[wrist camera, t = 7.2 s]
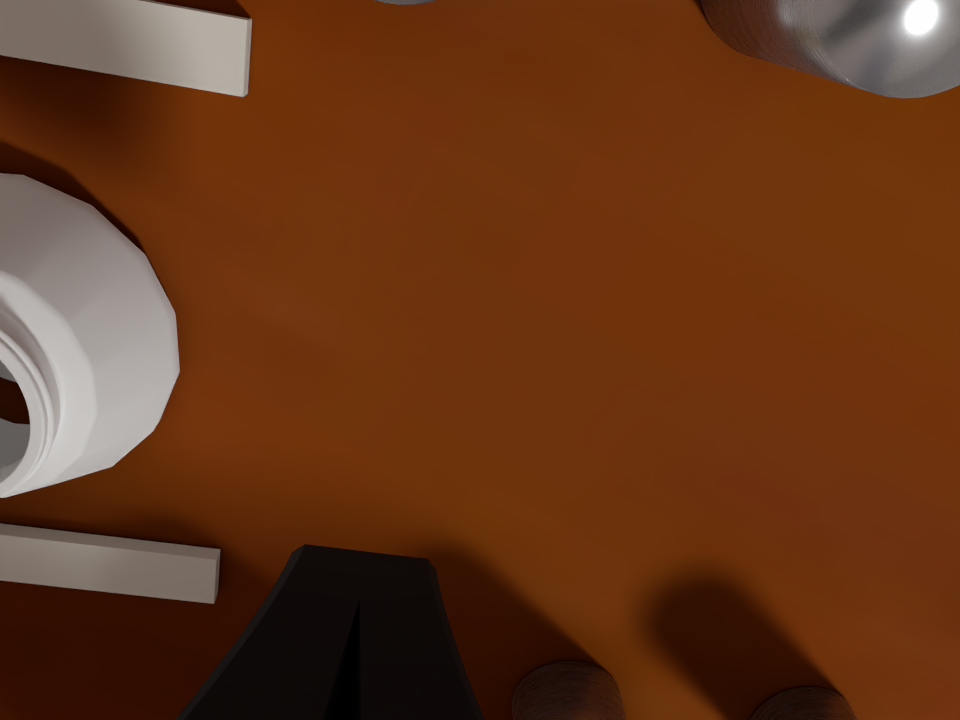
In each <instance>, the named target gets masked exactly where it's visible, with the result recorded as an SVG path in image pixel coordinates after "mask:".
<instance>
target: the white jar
mask: <svg viewBox="0 0 960 720" xmlns="http://www.w3.org/2000/svg"><path fill="white" fill-rule="evenodd" d="M179 372H180V369H179V355H178V341H177V327H176V314H175V312H174V310H173V308H172V306H171V304H170V302H169V300H168V298H167V296H166V294H165V292H164V290H163V288H162V286H161V284H160V282H159V280H158V278H157V277H156V275H155V273H154V271H153V269H152V267H151V265H150V263H149V261H148V259H147V257H146V255H145V254H144V253H143V252H142V251H141V250H140V249H138V248H137V247H136V246H135V245H134V244H133V243H132V242H131V241H130V240H129V239H128V238H127V237H126V236H124V235H123V234H122V233H121V232H120V231H119V230H118V229H117V228H116V227H115V226H114V225H113V224H112V223H110V222H109V221H108V220H107V219H106V218H105V217H104V216H103V215H102V214H101V213H100V212H99V211H98V210H96V209H95V208H94V207H93V206H92V205H90V204H88V203H85V202H83V201H81V200H79V199H76V198H74V197H72V196H70V195H67V194H65V193H63V192H61V191H59V190H56V189H54V188H52V187H50V186H47V185H45V184H43V183H41V182H38V181H36V180H34V179H32V178H29V177H27V176H25V175H18V174H4V173H0V377H2V378H4V379H7V380H10V381H13V382H17V383H18V385H19V387H20V389H21V391H22V393H23V396H24V398H25V401H26V404H27V408H28V411H29V418H30V424H14V423H12V422H9V421H6V420H4V419H1V418H0V498H6V497H9V496H13V495H17V494H20V493H24V492H28V491H31V490H35V489H39V488H43V487H46V486H50V485H54V484H57V483H61V482H64V481H67V480H70V479H74V478H77V477H80V476H83V475H87V474H90V473H93V472H96V471H100V470H103V469H106V468H109V467H112V466H113V465H115V464H116V463H117V462H118V461H119V460H120V459H122V458H123V457H124V456H125V455H126V454H127V453H128V452H130V451H131V450H132V449H133V448H134V447H135V446H137V445H138V444H139V443H140V442H141V441H142V440H143V439H145V438H146V437H147V436H148V435H149V434H150V433H152V432H153V430H154V429H155V427H156V426H157V424H158V422H159V421H160V419H161V416H162V414H163V411H164V409H165V406H166V404H167V401H168V399H169V396H170V394H171V392H172V389H173V387H174V384H175V382H176V379H177V377H178V374H179Z"/></svg>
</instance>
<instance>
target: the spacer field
mask: <svg viewBox="0 0 960 720" xmlns="http://www.w3.org/2000/svg"><path fill="white" fill-rule="evenodd" d="M376 1H380V2H384V3H391V4H400V5H403V4H420V3H426V2H431V1H435V0H376ZM701 4H702V8H703V11H704V14H705V16H706V18H707V21H708V23H709V25H710V26H711V28H712V29H713V31H714V32H715V33H716V35H717V36H718V37H719V38H720V39H721V40H722V41H723V42H724V43H725V44H727V45H728V46H729V47H731V48H732V49H734V50H736V51H737V52H740V53H742V54H744V55H747V56H751V57H754V58H757V59H761V60H764V61H768V62H771V63H774V64H778V65H781V66H784V67H788V68H791V69H795V70H798V71H801V72H805V73H808V74H811V75H815V76H818V77H822V78H825V79H828V80H832V81H835V82H838V83H842V84H845V85H849V86H852V87H855V88H859V89H862V90H865V91H869V92H872V93H876V94H879V95H883V96H887V97H895V98H917V97H923V96H930V95H933V94H937V93H940V92H943V91H946V90H949V89H951V88H953V87H956V86H958V85H960V0H701ZM512 715H513V720H626V716H625V712H624V708H623V704H622V699H621V695H620V691H619V688H618V685H617V683H616V682H615V680H614V679H613V678H612V677H611V676H610V675H609V674H608V673H607V672H606V671H604V670H603V669H601V668H599V667H598V666H595V665H593V664H589V663H586V662H580V661H560V662H555V663H551V664H547V665H544V666H542V667H540V668H538V669H536V670H534V671H532V672H531V673H529V674H528V675H527V676H526V677H525V678H524V679H523V680H522V681H521V682H520V683H519V684H518V686H517V688H516V689H515V691H514V694H513V697H512ZM750 720H857V718H856V716H855V714H854V712H853V710H852V709H851V707H850V705H849V703H848V702H847V701H846V700H845V698H843V697H842V696H841V695H840V694H838V693H836V692H834V691H832V690H829V689H825V688H820V687H800V688H794V689H790V690H787V691H784V692H782V693H779V694H777V695H775V696H773V697H772V698H770V699H768V700H767V701H766V702H764V703H763V704H762V705H761V706H760V707H759V708H758V709H757V710H756V711H755V713H754V714H753V715H752V717H751V719H750Z"/></svg>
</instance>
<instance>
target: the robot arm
mask: <svg viewBox="0 0 960 720" xmlns="http://www.w3.org/2000/svg"><path fill="white" fill-rule="evenodd" d="M175 720H484V717H483V715H482V712H481V710H480V707H479V705H478V703H477V700H476V698H475V695H474V693H473V690H472V688H471V685H470V683H469V680H468V677H467V675H466V672H465V669H464V667H463V664H462V661H461V658H460V655H459V652H458V649H457V646H456V643H455V640H454V637H453V634H452V632H451V628H450V625H449V622H448V618H447V615H446V612H445V608H444V604H443V601H442V597H441V592H440V588H439V584H438V579H437V573H436V569H435V568H434V567H433V566H432V565H431V563H430V562H429V561H428V560H427V559H422V558H413V557H405V556H397V555H389V554H380V553H372V552H364V551H356V550H347V549H339V548H331V547H323V546H315V545H306V544H305V545H303V546H302V547H300V548H298V549H297V550H295V551H294V552H292V554H291V556H290V558H289V560H288V562H287V564H286V566H285V568H284V570H283V572H282V573H281V575H280V577H279V578H278V580H277V582H276V583H275V585H274V587H273V588H272V590H271V592H270V593H269V595H268V596H267V598H266V599H265V601H264V602H263V604H262V605H261V607H260V608H259V610H258V611H257V613H256V614H255V616H254V617H253V618H252V620H251V621H250V623H249V624H248V626H247V627H246V628H245V630H244V631H243V633H242V634H241V636H240V637H239V638H238V640H237V641H236V643H235V644H234V645H233V646H232V648H231V649H230V650H229V652H228V653H227V654H226V656H225V657H224V658H223V659H222V661H221V662H220V663H219V665H218V666H217V667H216V669H215V670H214V671H213V672H212V674H211V675H210V676H209V678H208V679H207V680H206V682H205V683H204V684H203V685H202V687H201V688H200V689H199V691H198V692H197V693H196V695H195V696H194V697H193V698H192V700H191V701H190V702H189V703H188V705H187V706H186V707H185V708H184V709H183V711H182V712H181V713H180V714H179V715H178V717H177V718H176V719H175Z"/></svg>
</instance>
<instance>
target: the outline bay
mask: <svg viewBox="0 0 960 720" xmlns="http://www.w3.org/2000/svg"><path fill="white" fill-rule="evenodd" d="M251 28H252V19H250V18H244V17H239V16H233V15H228V14H222V13H217V12H211V11H206V10H200V9H195V8H189V7H184V6H178V5H173V4H167V3H162V2H156V1H151V0H0V55H3V56H9V57H15V58H20V59H26V60H32V61H38V62H44V63H49V64H55V65H61V66H67V67H73V68H78V69H84V70H90V71H96V72H102V73H107V74H113V75H119V76H125V77H131V78H136V79H142V80H148V81H154V82H160V83H166V84H171V85H177V86H183V87H189V88H195V89H200V90H206V91H212V92H218V93H224V94H229V95H235V96H241V97H244V96H245V95H247V94H248V79H249V62H250V45H251ZM220 550H221V549H214V548H205V547H197V546H188V545H180V544H171V543H163V542H154V541H146V540H137V539H128V538H120V537H111V536H103V535H94V534H86V533H77V532H69V531H60V530H51V529H43V528H34V527H26V526H17V525H9V524H0V580H2V581H11V582H20V583H29V584H38V585H47V586H56V587H65V588H74V589H83V590H92V591H101V592H110V593H120V594H129V595H138V596H147V597H156V598H165V599H174V600H183V601H192V602H201V603H210V604H214V602H215V600H216V597H217V594H218V584H219V567H220Z"/></svg>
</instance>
